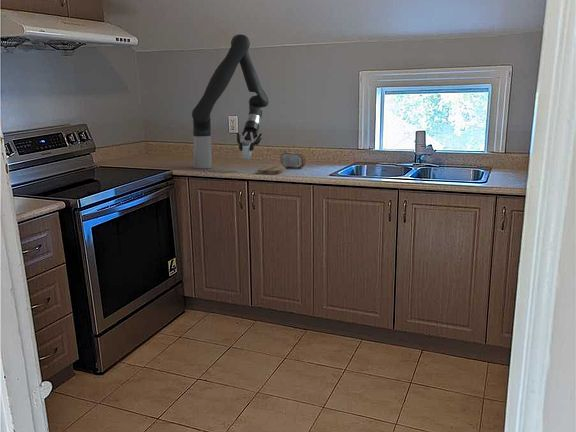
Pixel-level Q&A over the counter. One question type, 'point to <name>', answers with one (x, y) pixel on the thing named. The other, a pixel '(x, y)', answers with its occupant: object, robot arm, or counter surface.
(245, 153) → the jar
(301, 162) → the tin
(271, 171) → the walnut board
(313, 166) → the counter surface
